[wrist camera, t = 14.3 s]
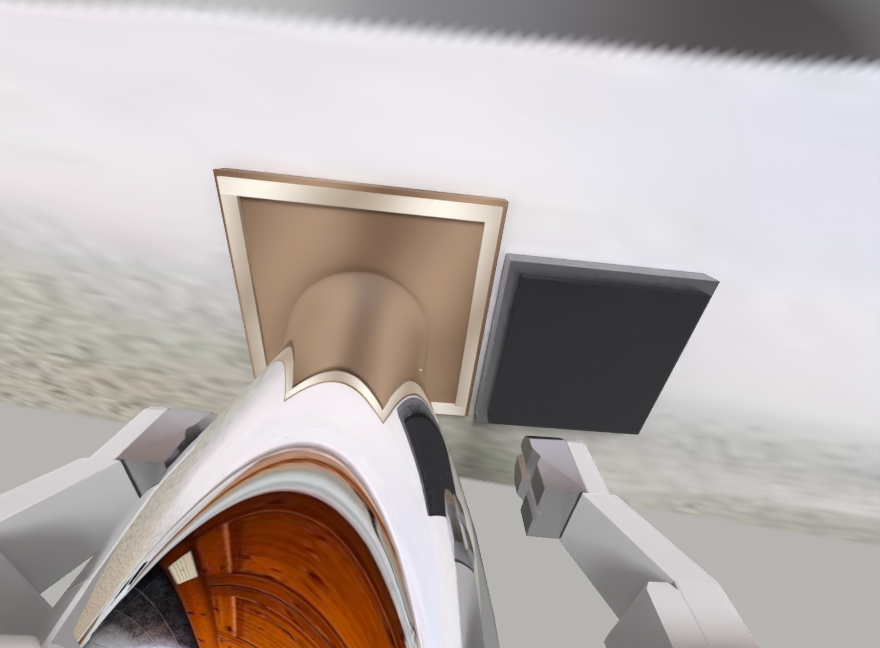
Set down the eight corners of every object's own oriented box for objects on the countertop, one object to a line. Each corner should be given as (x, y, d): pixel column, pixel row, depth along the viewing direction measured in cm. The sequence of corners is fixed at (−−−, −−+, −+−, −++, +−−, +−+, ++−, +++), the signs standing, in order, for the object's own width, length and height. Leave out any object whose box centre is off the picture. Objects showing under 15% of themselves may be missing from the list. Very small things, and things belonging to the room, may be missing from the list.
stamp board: (504, 199, 13) (509, 202, 13) (466, 406, 19) (468, 418, 18) (225, 168, 13) (209, 169, 12) (265, 390, 18) (256, 402, 17)
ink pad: (703, 273, 15) (728, 285, 14) (629, 421, 19) (643, 441, 18) (506, 253, 15) (513, 264, 13) (474, 409, 19) (477, 429, 17)
